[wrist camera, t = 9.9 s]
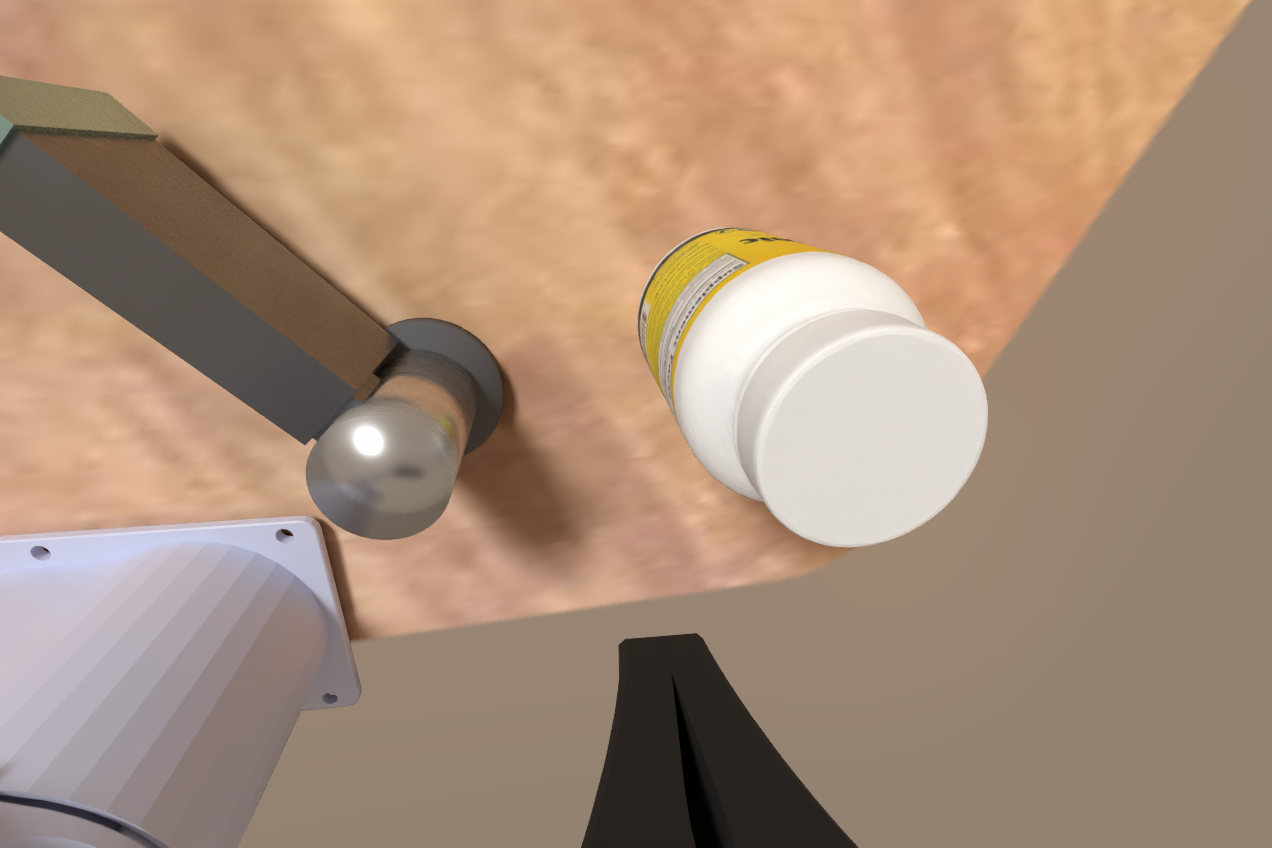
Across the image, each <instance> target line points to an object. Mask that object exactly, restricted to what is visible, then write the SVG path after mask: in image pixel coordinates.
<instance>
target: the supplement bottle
mask: <svg viewBox="0 0 1272 848" xmlns="http://www.w3.org/2000/svg"><path fill="white" fill-rule="evenodd" d="M637 329H638V336H639V341H640V345H641V348H642V351H643V354H644V357H645V359H646V361H647V364H648V366H649V368H650V370H651V372H652V374H653V376H654V378H655V380H656V382H657V384H658V386H659V388H660V390H661V392H662V394H663V396H664V398H665V400H666V401H667V403H668V405H669V407H670V410H671V412H672V414H673V415H674V418H675V420H676V422H677V424H678V426H679V428H680V430H681V432H682V434H683V436H684V438H685V440H686V442H687V444H688V445H689V447H690V448H691V450H692V452H693V453H694V455H695V457H696V458H697V459H698V460H699V462H700V463H701V464H702V466H703V467H704V468H705V469H706V470H707V471H708V472H709V473H710V474H711V475H712V476H713V477H714V478H715V479H716V480H718V481H719V482H720V483H722V484H723V485H725V486H726V487H728V488H729V489H731V490H733V491H734V492H736V493H738V494H741V495H743V496H745V497H748V498H750V499H753V500H757V501H761V502H764V504H765V505H766V506H767V508H768V509H769V511H770V512H771V513H772V514H773V515H774V517H775V518H776V519H777V520H778V521H779V522H780V523H782V524H783V525H784V526H785V527H786V528H788V529H789V530H790V531H792V532H793V533H795V534H797V535H798V536H800V537H802V538H804V539H807V540H809V541H812V542H815V543H818V544H822V545H826V546H833V547H862V546H870V545H874V544H878V543H882V542H886V541H889V540H892V539H895V538H897V537H899V536H902V535H904V534H907V533H908V532H910V531H912V530H914V529H916V528H917V527H919V526H921V525H922V524H924V523H925V522H927V521H928V520H930V519H931V518H932V517H933V516H934V515H936V514H937V513H938V512H939V511H941V510H942V509H943V508H944V507H945V506H946V505H947V504H949V502H950V501H951V500H952V499H953V498H954V497H955V496H956V494H957V493H958V492H959V491H960V489H961V488H962V487H963V485H964V484H965V482H966V480H967V479H968V477H969V476H970V474H971V473H972V471H973V469H974V467H975V465H976V463H977V461H978V459H979V456H980V454H981V451H982V448H983V445H984V440H985V436H986V430H987V420H988V405H987V399H986V393H985V390H984V386H983V383H982V381H981V378H980V376H979V374H978V372H977V371H976V369H975V367H974V365H973V364H972V363H971V361H970V360H969V358H968V357H967V356H966V355H965V354H964V353H963V352H962V351H961V350H960V349H959V348H958V347H957V346H956V345H954V344H953V343H952V342H950V341H949V340H947V339H946V338H945V337H943V336H941V335H939V334H936V333H934V332H932V331H930V330H928V329H927V328H926V326H925V324H924V321H923V318H922V316H921V314H920V313H919V311H918V309H917V307H916V306H915V304H914V303H913V301H912V300H911V298H910V297H909V296H908V295H907V294H906V292H905V291H904V290H903V289H902V288H901V287H900V286H899V285H898V284H897V283H896V282H894V281H893V280H892V279H891V278H889V277H888V276H887V275H885V274H884V273H882V272H881V271H879V270H877V269H876V268H874V267H872V266H870V265H868V264H865V263H863V262H860V261H858V260H855V259H853V258H850V257H847V256H845V255H841V254H837V253H834V252H830V251H826V250H823V249H819V248H815V247H811V246H808V245H804V244H802V243H797V242H794V241H791V240H788V239H783V238H780V237H777V236H773V235H770V234H767V233H764V232H760V231H756V230H751V229H746V228H737V227H723V228H715V229H711V230H707V231H703V232H701V233H698V234H696V235H694V236H691V237H689V238H687V239H686V240H684V241H683V242H681V243H680V244H678V245H677V246H675V247H674V248H673V249H672V250H670V251H669V252H668V253H667V254H666V255H665V256H664V257H663V258H662V259H661V260H660V262H659V263H658V264H657V265H656V267H655V268H654V270H653V272H652V273H651V275H650V276H649V278H648V280H647V282H646V284H645V286H644V289H643V291H642V294H641V298H640V302H639V307H638V315H637Z"/></svg>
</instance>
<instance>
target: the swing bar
mask: <svg viewBox="0 0 1272 848" xmlns="http://www.w3.org/2000/svg"><path fill="white" fill-rule="evenodd" d="M157 137H158V134H156V133H155V132H154V131H153V130H152V129H150V128H149V127H148V126H147V125H146V124H144V123H143V122H142V121H141V120H140V119H138V118H137V117H136V116H135V115H134V114H132V113H131V112H130V111H129V110H128V109H126V108H125V107H124V106H123V105H122V104H120V103H119V102H118V101H117V100H116V99H114V98H113V97H112V96H111V95H110V94H108V93H105V92H99V91H93V90H86V89H80V88H74V87H68V86H62V85H55V84H49V83H43V82H37V81H30V80H24V79H18V78H12V77H5V76H0V231H1V232H2V233H4V234H5V235H6V236H8V237H9V238H11V239H12V240H14V241H15V242H16V243H18V244H19V245H21V246H22V247H24V248H25V249H26V250H28V251H29V252H31V253H32V254H33V255H35V256H36V257H38V258H39V259H41V260H42V261H43V262H45V263H46V264H48V265H49V266H51V267H52V268H53V269H55V270H56V271H58V272H59V273H61V274H62V275H63V276H65V277H66V278H68V279H69V280H70V281H72V282H73V283H75V284H76V285H78V286H79V287H80V288H82V289H83V290H85V291H86V292H88V293H89V294H90V295H92V296H93V297H95V298H96V299H98V300H99V301H100V302H102V303H103V304H105V305H106V306H107V307H109V308H110V309H112V310H113V311H115V312H116V313H117V314H119V315H120V316H122V317H123V318H125V319H126V320H127V321H129V322H130V323H132V324H133V325H135V326H136V327H137V328H139V329H140V330H142V331H143V332H144V333H146V334H147V335H149V336H150V337H152V338H153V339H154V340H156V341H157V342H159V343H160V344H162V345H163V346H164V347H166V348H167V349H169V350H170V351H172V352H173V353H174V354H176V355H177V356H179V357H180V358H181V359H183V360H184V361H186V362H187V363H189V364H190V365H191V366H193V367H194V368H196V369H197V370H199V371H200V372H201V373H203V374H204V375H206V376H207V377H209V378H210V379H211V380H213V381H214V382H216V383H217V384H218V385H220V386H221V387H223V388H224V389H226V390H227V391H228V392H230V393H231V394H233V395H234V396H236V397H237V398H238V399H240V400H241V401H243V402H244V403H246V404H247V405H248V406H250V407H251V408H253V409H254V410H255V411H257V412H258V413H260V414H261V415H263V416H264V417H265V418H267V419H268V420H270V421H271V422H273V423H274V424H275V425H277V426H278V427H280V428H281V429H283V430H284V431H285V432H287V433H288V434H290V435H291V436H292V437H294V438H295V439H297V440H298V441H300V442H301V443H302V444H304V445H306V444H307V443H308V442H309V441H310V440H311V439H312V438H314V439H315V440H316V441H317V442H316V444H315V445H314V447H313V448H312V450H311V452H310V455H309V457H308V460H307V465H306V481H307V486H308V489H309V492H310V495H311V497H312V499H313V501H314V502H315V504H316V506H317V507H318V508H319V509H320V511H321V512H322V513H323V514H324V515H325V516H326V517H327V518H328V519H329V520H330V521H332V522H333V523H334V524H336V525H337V526H339V527H341V528H342V529H344V530H346V531H348V532H350V533H353V534H355V535H358V536H362V537H366V538H370V539H379V540H392V539H400V538H405V537H409V536H412V535H415V534H417V533H419V532H421V531H423V530H425V529H426V528H428V527H429V526H431V525H432V524H433V523H434V522H435V521H436V520H437V519H438V518H439V517H440V516H441V515H442V513H443V512H444V510H445V509H446V507H447V504H448V502H449V499H450V496H451V493H452V490H453V486H454V483H455V480H456V477H457V473H458V470H459V467H460V464H461V460H462V457H463V454H464V450H465V447H466V444H467V441H468V437H469V434H470V431H471V428H472V424H473V421H474V418H475V415H476V411H477V405H478V404H477V392H476V389H475V386H474V383H473V381H472V379H471V378H470V376H469V374H468V373H467V372H466V371H465V370H464V368H462V367H461V366H460V365H459V364H458V363H457V362H455V361H454V360H453V359H451V358H449V357H447V356H445V355H443V354H441V353H437V352H434V351H428V350H411V351H406V352H402V353H399V354H397V355H395V356H393V357H391V358H390V359H388V360H387V361H386V362H385V363H384V364H383V365H382V366H381V367H380V368H379V369H378V370H377V372H376V373H375V374H373V373H372V372H373V371H374V370H375V369H376V367H377V366H378V365H379V364H380V363H381V362H382V361H383V359H384V358H385V357H386V356H387V355H388V354H389V352H390V351H391V350H392V349H393V348H394V347H395V345H396V344H397V343H398V342H399V341H398V340H396V339H395V338H394V337H393V336H392V335H390V334H389V333H388V332H387V331H386V330H384V329H383V328H382V327H381V326H380V325H378V324H377V323H376V322H375V321H373V320H372V319H371V318H370V317H369V316H367V315H366V314H365V313H364V312H363V311H361V310H360V309H359V308H358V307H357V306H355V305H354V304H353V303H352V302H351V301H349V300H348V299H347V298H346V297H345V296H343V295H342V294H341V293H340V292H338V291H337V290H336V289H335V288H334V287H332V286H331V285H330V284H329V283H328V282H326V281H325V280H324V279H323V278H322V277H320V276H319V275H318V274H317V273H316V272H314V271H313V270H312V269H311V268H310V267H308V266H307V265H306V264H305V263H303V262H302V261H301V260H300V259H299V258H297V257H296V256H295V255H294V254H293V253H291V252H290V251H289V250H288V249H287V248H285V247H284V246H283V245H282V244H281V243H279V242H278V241H277V240H276V239H275V238H273V237H272V236H271V235H270V234H268V233H267V232H266V231H265V230H264V229H262V228H261V227H260V226H259V225H258V224H256V223H255V222H254V221H253V220H252V219H250V218H249V217H248V216H247V215H246V214H244V213H243V212H242V211H241V210H240V209H238V208H237V207H236V206H235V205H233V204H232V203H231V202H230V201H229V200H227V199H226V198H225V197H224V196H223V195H221V194H220V193H219V192H218V191H217V190H215V189H214V188H213V187H212V186H211V185H209V184H208V183H207V182H206V181H205V180H203V179H202V178H201V177H200V176H198V175H197V174H196V173H195V172H194V171H192V170H191V169H190V168H189V167H188V166H186V165H185V164H184V163H183V162H182V161H180V160H179V159H178V158H177V157H176V156H174V155H173V154H172V153H171V152H170V151H168V150H167V149H166V148H165V147H163V146H162V145H161V144H160V143H159V142H157V141H156V140H155V139H156V138H157Z"/></svg>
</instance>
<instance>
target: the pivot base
mask: <svg viewBox="0 0 1272 848" xmlns="http://www.w3.org/2000/svg"><path fill="white" fill-rule="evenodd" d="M384 330H386V331H387V332H388V333H389V334H390V335H392V336H393V337H394V338H395V339H396V340H398V341H399V342H398V343H397V344H396V345H395V347H394V348H393V349H392V350H391V351H390V352H389V354H388V355H387V356H386V357H385V358H384V359H383V361H382V362H381V363H380V364H379V365H378V366H377V367H376V369H375V370H374V371H373V372H372V373H373V374H375V373H376V372H377V370H378V369H379V368H380V367H381V366H382V365H383V364H384V363H385V362H386V361H387V360H388V359H390V358H391V357H393V356H395V355H397V354H399V353H402V352H406V351H411V350H428V351H434V352H437V353H441V354H443V355H445V356H447V357H449V358H451V359H453V360H454V361H455V362H457V363H458V364H459V365H460V366H461V367H462V368H464V370H465V371H466V372H467V373H468V374H469V376H470V378H471V379H472V381H473V383H474V386H475V389H476V392H477V404H478V405H477V411H476V415H475V418H474V421H473V424H472V428H471V431H470V434H469V437H468V441H467V444H466V447H465V450H464V454H463V456H464V455H466V454H468V453H470V452H471V451H473V450H474V449H476V448H477V447H479V446H480V445H481V444H482V443H483V442H484V441H485V440H486V439H487V438H488V437H489V436H490V434H491V433H492V431H493V430H494V428H495V427H496V424H497V422H498V420H499V417H500V413H501V409H502V405H503V397H504V385H503V379H502V375H501V371H500V368H499V366H498V364H497V362H496V360H495V358H494V357H493V355H492V353H491V352H490V351H489V349H488V348H487V347H486V346H485V345H484V344H483V343H482V342H481V341H480V340H479V339H478V338H477V337H476V336H474V335H473V334H472V333H470V332H469V331H467V330H465V329H463V328H462V327H460V326H458V325H455V324H453V323H450V322H447V321H443V320H439V319H432V318H414V319H407V320H403V321H399V322H397V323H394V324H391V325H389V326H387V327H386V328H384Z"/></svg>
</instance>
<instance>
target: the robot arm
mask: <svg viewBox="0 0 1272 848" xmlns="http://www.w3.org/2000/svg"><path fill="white" fill-rule="evenodd" d="M281 529H287V530H289V531H290V532H292V534H293V536H287V535H285V534H283V533H282V531H281ZM41 546H42V547H44V548H46V549H48V550H49V552H47V551H45V550H44V549H43V548H42V547H41ZM328 693H333V694H335V695H330V694H328ZM360 694H361V685H360V681H359V677H358V673H357V669H356V665H355V661H354V657H353V653H352V649H351V645H350V641H349V636H348V632H347V628H346V624H345V620H344V616H343V612H342V608H341V604H340V600H339V596H338V592H337V588H336V584H335V580H334V576H333V572H332V568H331V564H330V560H329V556H328V552H327V548H326V544H325V540H324V536H323V532H322V528H321V526H320V524H319V522H317V521H316V520H315V519H314V518H311V517H309V516H288V517H273V518H258V519H243V520H229V521H214V522H199V523H184V524H169V525H154V526H139V527H124V528H110V529H95V530H80V531H65V532H50V533H35V534H20V535H6V536H2V537H0V848H238V846H239V844H240V842H241V839H242V838H243V835H244V833H245V831H246V829H247V827H248V825H249V823H250V820H251V818H252V816H253V814H254V812H255V809H256V807H257V805H258V803H259V801H260V799H261V796H262V794H263V792H264V790H265V788H266V786H267V783H268V781H269V779H270V777H271V775H272V773H273V770H274V768H275V766H276V764H277V762H278V760H279V757H280V755H281V753H282V751H283V749H284V746H285V744H286V742H287V740H288V738H289V736H290V733H291V731H292V729H293V727H294V725H295V723H296V720H297V718H298V716H299V714H300V712H301V711H302V710H313V709H322V708H332V707H342V706H349V705H353V704H354V703H356V702H357V701H358V699H359V697H360ZM581 848H858V847H857V846H856V844H855V843H854V842H853V841H852V840H851V839H850V838H849V837H848V836H847V835H846V834H845V833H844V831H843V830H842V829H841V828H840V827H839V826H838V825H837V824H836V822H835V821H834V820H833V819H832V818H831V817H830V815H829V814H828V813H827V812H826V811H825V810H824V808H823V807H822V806H821V805H820V804H819V802H818V801H817V800H816V799H815V798H814V797H813V795H812V794H811V793H810V792H809V790H808V789H807V788H806V787H805V786H804V784H803V783H802V782H801V781H800V779H799V778H798V777H797V776H796V774H795V773H794V772H793V771H792V770H791V768H790V767H789V766H788V765H787V763H786V762H785V761H784V759H783V758H782V757H781V755H780V754H779V753H778V752H777V750H776V749H775V748H774V746H773V745H772V743H771V742H770V741H769V739H768V738H767V737H766V735H765V734H764V732H763V731H762V730H761V728H760V727H759V726H758V724H757V723H756V721H755V720H754V719H753V717H752V716H751V715H750V713H749V712H748V710H747V709H746V707H745V706H744V704H743V703H742V702H741V700H740V699H739V697H738V696H737V694H736V693H735V691H734V690H733V688H732V686H731V685H730V683H729V682H728V680H727V679H726V677H725V676H724V674H723V672H722V671H721V669H720V668H719V666H718V664H717V663H716V661H715V659H714V658H713V656H712V654H711V652H710V651H709V649H708V647H707V645H706V644H705V642H704V640H703V638H701V637H700V636H699V635H698V634H697V633H695V634H683V635H671V636H658V637H646V638H633V639H625V640H624V641H623V642H622V643H620V644H619V685H618V693H617V701H616V708H615V714H614V719H613V725H612V730H611V735H610V740H609V745H608V751H607V755H606V759H605V764H604V768H603V772H602V775H601V779H600V783H599V787H598V790H597V794H596V798H595V802H594V806H593V809H592V813H591V817H590V820H589V823H588V827H587V830H586V833H585V837H584V840H583V843H582V846H581Z"/></svg>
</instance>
